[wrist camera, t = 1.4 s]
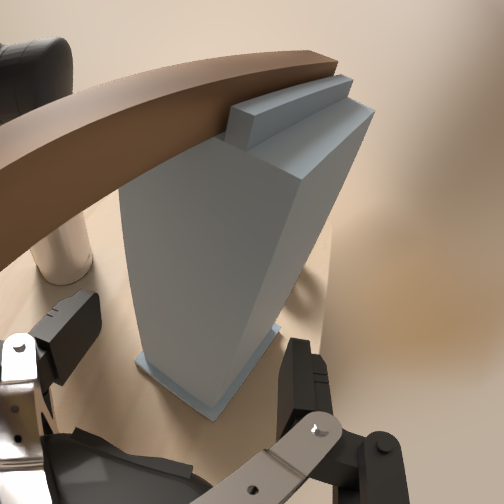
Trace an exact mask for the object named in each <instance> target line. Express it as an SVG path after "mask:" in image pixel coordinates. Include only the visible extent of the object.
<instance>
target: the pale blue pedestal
mask: <svg viewBox="0 0 504 504" xmlns="http://www.w3.org/2000/svg"><path fill="white" fill-rule="evenodd" d="M352 83H353V79H351V78H349V77H346V76H344V75H342V74H340V75H336V76H332V77H327V78H323V79H319V80H315V81H311V82H307V83H304V84H300V85H296V86H293V87H289V88H286V89H282V90H279V91H275V92H272V93H269V94H266V95H263V96H259V97H256V98H253V99H250V100H247V101H244V102H241V103H238V104H236V105H233V106H231V108H230V113H229V118H228V124H227V129H226V131H225V132H223V133H221V134H218V135H216V136H214V137H212V138H210V139H208V140H206V141H204V142H202V143H200V144H198V145H196V146H194V147H192V148H190V149H188V150H186V151H184V152H182V153H180V154H178V155H177V156H175V157H173V158H171V159H169V160H167V161H165V162H163V163H162V164H160V165H158V166H156V167H154V168H153V169H151V170H149V171H147V172H145V173H144V174H142V175H140V176H139V177H137V178H135V179H133V180H132V181H130V182H128V183H127V184H125V185H123V186H122V187H120V188H118V189H119V201H120V212H121V222H122V231H123V239H124V247H125V254H126V261H127V268H128V275H129V281H130V287H131V293H132V298H133V304H134V309H135V314H136V319H137V324H138V329H139V334H140V339H141V343H142V348H143V351H142V352H141V353H140V355H139V356H138V357H137V358H136V359H135V360H134V361H135V364H136V365H137V366H139V367H140V368H141V369H142V370H143V371H145V372H146V373H147V374H148V375H150V376H151V377H152V378H153V379H155V380H156V381H157V382H158V383H160V384H161V385H162V386H163V387H165V388H166V389H167V390H169V391H170V392H171V393H173V394H174V395H175V396H177V397H178V398H179V399H181V400H182V401H183V402H185V403H186V404H188V405H189V406H190V407H192V408H193V409H195V410H196V411H197V412H199V413H200V414H202V415H203V416H205V417H206V418H208V419H209V420H211V421H212V422H214V421H215V420H216V419H217V417H218V416H219V415H220V413H221V412H222V411H223V409H224V408H225V407H226V405H227V404H228V403H229V401H230V400H231V399H232V397H233V396H234V395H235V393H236V392H237V390H238V389H239V388H240V386H241V385H242V384H243V382H244V381H245V379H246V378H247V377H248V375H249V374H250V372H251V371H252V369H253V368H254V367H255V365H256V364H257V362H258V361H259V360H260V358H261V357H262V355H263V354H264V352H265V351H266V349H267V348H268V346H269V345H270V344H271V342H272V341H273V339H274V338H275V336H276V335H277V333H278V332H279V330H280V328H281V327H280V326H279V325H277V324H276V323H275V321H276V319H277V317H278V315H279V314H280V312H281V310H282V308H283V306H284V304H285V302H286V300H287V298H288V296H289V294H290V292H291V291H292V289H293V287H294V285H295V283H296V281H297V279H298V277H299V275H300V273H301V271H302V269H303V267H304V265H305V263H306V261H307V259H308V257H309V255H310V253H311V251H312V249H313V247H314V245H315V243H316V241H317V239H318V237H319V235H320V233H321V230H322V228H323V226H324V224H325V222H326V220H327V218H328V216H329V214H330V212H331V209H332V207H333V205H334V203H335V201H336V199H337V196H338V194H339V192H340V190H341V188H342V186H343V184H344V181H345V179H346V177H347V175H348V173H349V170H350V168H351V166H352V164H353V161H354V159H355V157H356V155H357V152H358V150H359V148H360V146H361V143H362V141H363V139H364V136H365V134H366V132H367V129H368V127H369V125H370V122H371V120H372V117H373V115H374V113H375V110H374V109H371V108H369V107H367V106H365V105H363V104H361V103H359V102H357V101H355V100H353V99H351V98H348V97H347V96H348V93H349V91H350V88H351V85H352Z"/></svg>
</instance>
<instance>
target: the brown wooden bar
mask: <svg viewBox="0 0 504 504" xmlns="http://www.w3.org/2000/svg"><path fill="white" fill-rule="evenodd" d="M337 64H338V61H337V60H334V59H331V58H329V57H326V56H323V55H320V54H318V53H315V52H312V51H308V50H306V51H305V50H303V51H278V52H264V53H253V54H243V55H234V56H226V57H219V58H212V59H205V60H199V61H193V62H188V63H182V64H177V65H173V66H168V67H163V68H159V69H155V70H150V71H146V72H142V73H138V74H134V75H131V76H128V77H124V78H120V79H117V80H113V81H110V82H107V83H104V84H100V85H97V86H94V87H91V88H89V89H86V90H83V91H80V92H77V93H74V94H72V95H69V96H66V97H64V98H61V99H59V100H56V101H54V102H51V103H49V104H46V105H44V106H42V107H39V108H37V109H35V110H32V111H30V112H28V113H26V114H24V115H22V116H20V117H17V118H15V119H13V120H11V121H9V122H7V123H5V124H3V125H1V126H0V272H1V271H2V270H3V269H4V268H6V267H7V266H8V265H9V264H11V263H12V262H13V261H14V260H16V259H17V258H18V257H19V256H21V255H22V254H23V253H25V252H26V251H27V250H28V249H30V248H31V247H32V246H34V245H35V244H36V243H38V242H39V241H40V240H42V239H43V238H45V237H46V236H47V235H49V234H50V233H51V232H53V231H54V230H56V229H57V228H58V227H60V226H61V225H63V224H64V223H66V222H67V221H69V220H70V219H72V218H73V217H74V216H76V215H77V214H79V213H80V212H82V211H83V210H85V209H86V208H88V207H90V206H91V205H93V204H94V203H96V202H97V201H99V200H100V199H102V198H104V197H105V196H107V195H108V194H110V193H112V192H113V191H115V190H117V189H118V188H120V187H122V186H123V185H125V184H127V183H128V182H130V181H132V180H133V179H135V178H137V177H139V176H140V175H142V174H144V173H145V172H147V171H149V170H151V169H153V168H154V167H156V166H158V165H160V164H162V163H163V162H165V161H167V160H169V159H171V158H173V157H175V156H177V155H178V154H180V153H182V152H184V151H186V150H188V149H190V148H192V147H194V146H196V145H198V144H200V143H202V142H204V141H206V140H208V139H210V138H212V137H214V136H216V135H218V134H221V133H223V132H225V131H226V129H227V124H228V118H229V113H230V108H231V106H233V105H236V104H238V103H241V102H244V101H247V100H250V99H253V98H256V97H259V96H263V95H266V94H269V93H272V92H275V91H279V90H282V89H286V88H289V87H293V86H296V85H300V84H304V83H307V82H311V81H315V80H319V79H323V78H327V77H332V76H334V73H335V70H336V67H337Z"/></svg>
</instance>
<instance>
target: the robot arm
mask: <svg viewBox="0 0 504 504" xmlns="http://www.w3.org/2000/svg"><path fill="white" fill-rule="evenodd" d="M72 90H73V58H72V53H71V49H70V46H69V44H68V43H67V41H66V40H65V39H64V38H60V37H51V38H44V39H38V40H32V41H27V42H23V43H18V44H14V45H9V46H8V45H3V44H1V43H0V126H1V125H3V124H5V123H7V122H9V121H11V120H13V119H15V118H17V117H20V116H22V115H24V114H26V113H28V112H30V111H32V110H35V109H37V108H39V107H42V106H44V105H46V104H49V103H51V102H54V101H56V100H59V99H61V98H64V97H66V96H69V95H72ZM30 251H31V254H32V256H33V258H34V261H35V263H36V265H38V267H39V269H40V272H41V274H42V276H43V277H44V278H45V279H46V280H47V281H48V282H50V283H52V284H55V285H67V284H71V283H74V282H76V281H78V280H79V279H81V278H82V277H83V276H84V275H85V274H86V273H87V272H88V270H89V269H90V267H91V264H92V259H93V257H92V251H91V247H90V243H89V238H88V233H87V229H86V224H85V220H84V215H83V211H82V212H80V213H79V214H77V215H76V216H74V217H73V218H72V219H70V220H69V221H67V222H66V223H64V224H63V225H61V226H60V227H58V228H57V229H56V230H54V231H53V232H51V233H50V234H49V235H47V236H46V237H45V238H43V239H42V240H40V241H39V242H38V243H36V244H35V245H34V246H32V247H31V248H30ZM101 326H102V320H101V311H100V301H99V295H98V293H95V292H92V291H89V290H85V289H80V290H79V291H78V292H77V293H76V294H75V295H74V296H73V297H68V298H66V299H64V300H62V301H60V302H58V303H57V304H56V305H55V306H54V307H53V308H52V310H50V311H49V312H48V313H47V316H46V315H45V316H44V317H43V318H42V319H41V320H40V321H39V322H38V324H37V325H36V326H35V327H34V328H33V329H32V330H31V331H30V332H29V333H28V334H24V333H19V334H15V335H12V336H10V337H9V338H8V339H7V340H6V341H2V340H0V504H284V503H285V502H286V501H287V500H288V499H289V498H290V497H291V496H292V495H293V494H294V493H295V492H296V491H297V490H298V489H299V488H300V487H301V486H302V485H303V484H304V483H305V482H306V481H307V479H308V478H309V477H310V478H313V479H316V480H319V481H321V482H325V483H328V484H331V485H333V504H410V503H409V495H408V488H407V482H406V475H405V469H404V463H403V457H402V451H401V447H400V444H399V442H398V440H397V439H396V438H395V437H394V436H393V435H391V434H389V433H387V432H383V431H376V432H373V433H371V434H369V435H368V436H367V437H363V436H360V435H357V434H354V433H351V432H348V431H346V430H344V429H343V428H342V426H341V424H340V422H339V421H338V420H337V419H336V418H335V417H334V416H333V410H332V403H331V395H330V388H329V380H328V376H327V375H328V373H327V366H326V363H325V362H324V360H323V359H322V357H321V356H320V355H317V354H311V348H310V341H309V340H303V339H297V338H290V340H289V343H288V346H287V349H286V352H285V355H284V358H283V361H282V364H281V367H280V372H279V379H278V408H277V434H276V444H274V445H273V446H272V447H271V448H270V449H268V450H266V449H263V450H261V451H260V452H258V453H257V454H256V455H255V456H253V457H252V458H251V459H250V460H248V461H247V462H246V463H245V464H243V465H242V466H241V467H240V468H238V469H237V470H236V471H234V472H233V473H232V474H231V475H229V476H228V477H227V478H225V479H224V480H222V481H221V482H220V483H218V484H217V485H216V486H214V487H213V486H212V485H211V484H210V483H208V482H207V481H206V480H204V479H202V478H201V477H199V476H197V475H195V474H193V473H192V471H193V466H192V465H188V464H184V463H180V462H176V461H172V460H168V459H164V458H157V457H145V456H134V455H129V454H126V453H124V452H123V451H121V450H120V449H118V448H116V447H115V446H113V445H112V444H110V443H109V442H107V441H106V440H104V439H103V438H101V437H98V436H96V435H93V434H91V433H88V432H86V431H84V430H81V429H79V428H77V427H76V428H75V430H74V432H73V433H72V434H67V433H59V430H58V427H57V423H56V418H55V412H54V406H53V400H52V393H51V388H50V386H51V384H52V383H53V382H54V383H56V384H58V385H61V386H63V385H64V383H65V382H66V380H67V379H68V378H69V376H70V375H71V373H72V372H73V370H74V369H75V368H76V366H77V365H78V363H79V362H80V360H81V359H82V358H83V356H84V355H85V354H86V352H87V351H88V349H89V348H90V347H91V345H92V344H93V342H94V341H95V340H96V338H97V337H98V336H99V334H100V331H101Z"/></svg>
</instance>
